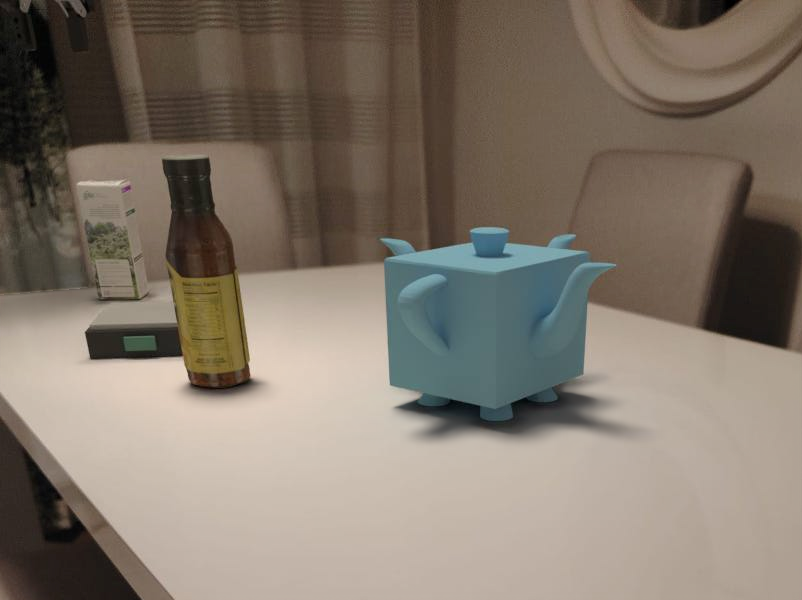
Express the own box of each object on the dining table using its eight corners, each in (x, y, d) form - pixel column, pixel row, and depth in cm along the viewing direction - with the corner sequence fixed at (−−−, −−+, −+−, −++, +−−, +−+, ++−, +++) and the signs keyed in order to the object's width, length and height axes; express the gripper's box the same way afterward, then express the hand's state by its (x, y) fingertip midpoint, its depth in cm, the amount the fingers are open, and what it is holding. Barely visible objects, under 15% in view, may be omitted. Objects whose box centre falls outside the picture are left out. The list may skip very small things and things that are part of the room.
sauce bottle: (209, 371, 96) (178, 152, 85) (264, 376, 94) (238, 153, 84) (172, 388, 90) (134, 156, 80) (230, 393, 89) (198, 158, 78)
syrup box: (150, 292, 133) (131, 178, 125) (140, 300, 128) (119, 182, 120) (109, 292, 132) (87, 178, 125) (97, 300, 127) (73, 182, 120)
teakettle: (396, 435, 78) (388, 245, 71) (384, 375, 94) (376, 216, 87) (616, 426, 81) (631, 241, 73) (567, 369, 96) (575, 213, 89)
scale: (88, 360, 100) (82, 327, 98) (112, 331, 111) (107, 301, 109) (195, 356, 101) (190, 323, 99) (207, 328, 112) (203, 299, 111)
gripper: (46, -100, 117) (74, 53, 125) (-51, -120, 106) (-13, 49, 114) (92, -104, 115) (118, 53, 123) (-2, -125, 103) (33, 49, 112)
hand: (55, 51), depth 119 cm, fingers open, 8 cm apart
